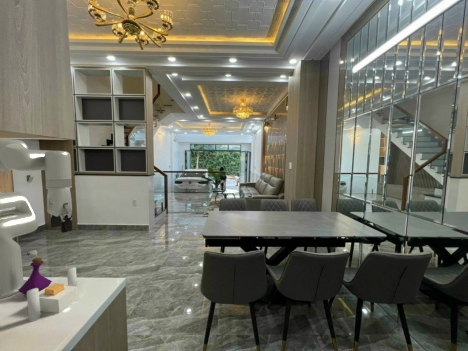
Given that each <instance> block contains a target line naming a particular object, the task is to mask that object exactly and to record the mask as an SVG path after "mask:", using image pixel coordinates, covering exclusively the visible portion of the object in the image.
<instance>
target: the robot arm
mask: <svg viewBox="0 0 468 351" xmlns="http://www.w3.org/2000/svg"><path fill="white" fill-rule="evenodd" d="M71 158H72V157H71V154H70V152H68V150H67V151H65V150H48V149H47V150H46V149H45V150H44V149H29V147H28V144H27V143H26V142H25V141H23V140H20V139H16V138H15V139H13V138H3V139H0V173H9V172H11V171H13V170H14V171H18V172H19V171H20V172H26V171H27V172H29V171H31V172H33V171H44V172H45V174H44V176H45V189H46V190H47V193H46V194H47V195H46V203H47V204H46V209H47V210H46V211H47V213H48V214H50V227H51V229H52V228H58V227H60V232H61V233H63V234H64V233H68V232H72V231H73V205H72V204H73V203H72V202H73V200H72V192H71V188H73V185H72V184H73V182H72V159H71ZM10 214H11V215H10ZM39 221H40V220H39V218H38V215H37V214H36V212H35V209H34V208H33V206H32V204H31V202H30V200H29V198H28V197H27V196H26V195H25V194H24V193H23V192H21V191H9V192H2V191H0V299H4V298H7V297H12V296H14V295H16V294H18V293H20V292H19V291H18V290H19V289H20V288H21V287H22V286H23V285H24V284H25V282H26V281H27V280H28V279H27V280H26V279H24V273H23V272H24V271H23V261H22V260H23V258H22V250H21V249H22V248H21V245H19V243H18V242H17V241H15V240H14V239H13V238H16V237H19V236H23V235H27V234H30V233H33V232H34V231H36V230H37V229H38V228H39V225H40V224H39Z"/></svg>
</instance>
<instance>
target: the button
mask: <svg viewBox="0 0 468 351" xmlns="http://www.w3.org/2000/svg"><path fill="white" fill-rule="evenodd" d="M50 285H51V286H50ZM50 285H49V287H48V288H46V289H45V295H50V296H55V295H56V294H58V293H59V292H61V291H63V290H64V286H65V284H64V283H57V282H55V283H53V284H50Z"/></svg>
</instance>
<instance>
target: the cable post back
mask: <svg viewBox="0 0 468 351" xmlns="http://www.w3.org/2000/svg"><path fill="white" fill-rule="evenodd" d="M66 275H67V276H66V277H67V286H75V287H78V278H77V267H75V266H74V267H69V268H68V269H67V270H66Z"/></svg>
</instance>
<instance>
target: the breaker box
mask: <svg viewBox="0 0 468 351" xmlns="http://www.w3.org/2000/svg"><path fill="white" fill-rule="evenodd" d="M51 285H52V284H50V285H49V286H51ZM49 286H48V287H49ZM48 287H47V288H48ZM45 289H46V288H45ZM45 289H43V290H41V291H40V292H39V302H40V312H46V313H47V312H48V313H54V314H55V313H56V314H60V313H62V312H63V311H64V310H65V309H68V307H69V306H71V305H72V304H73V303H75V302H76V301H78V300H79V287H78V286H77V287H75V286H68V285H64V290H63V291H61V292H59V293H58V294H56V295H55V296H50V295H45Z"/></svg>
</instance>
